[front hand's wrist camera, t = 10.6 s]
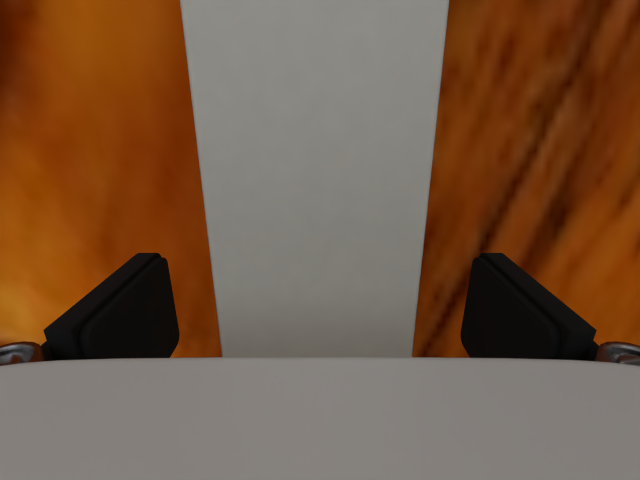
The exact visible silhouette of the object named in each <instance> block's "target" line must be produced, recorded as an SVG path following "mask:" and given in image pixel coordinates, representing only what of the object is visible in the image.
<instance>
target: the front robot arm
mask: <svg viewBox="0 0 640 480" xmlns="http://www.w3.org/2000/svg"><path fill="white" fill-rule="evenodd" d="M44 333H45V336H46V339H47V341H46V342H45V343H44V344H42V345H41V346H40V345H39V344H37V343H34V342H24V341H23V342H15V343H10V344H6V345H2V346H0V480H640V346H638V345H634V344H630V343H625V342H617V341H616V342H606V343H603V344H601V345H600V346H599V345H598V344H596V343H595V342H594V341H593V339H594V336H595V333H596V329H594V328H593V327H592V326H591V325H590V324H588V323H587V322H586V321H585V320H583V319H582V318H581V317H580V316H579V315H577V314H576V313H575V312H574V311H572V310H571V309H570V308H569V307H568V306H566V305H565V304H564V303H563V302H561V301H560V300H559V299H558V298H557V297H555V296H554V295H553V294H552V293H550V292H549V291H548V290H547V289H546V288H544V287H543V286H542V285H541V284H539V283H538V282H537V281H536V280H535V279H533V278H532V277H531V276H530V275H528V274H527V273H526V272H525V271H524V270H522V269H521V268H520V267H519V266H517V265H516V264H515V263H514V262H513V261H511V260H510V259H509V258H508V257H506V256H505V255H504V254H502V253H481V254H480V256H479V257H478V258H475V259H474V260H473V263H472V268H471V274H470V280H469V286H468V292H467V298H466V304H465V310H464V316H463V322H462V328H461V341H462V344H463V346H464V348H465V350H466V351H467V353H468V355H469V356H470V358H414V357H217V358H170V356H171V355H172V353H173V351H174V350H175V348H176V346H177V344H178V341H179V328H178V322H177V316H176V310H175V304H174V298H173V292H172V286H171V280H170V274H169V268H168V263H167V260H166V259H165V258H162V257H161V256H160V254H159V253H138V254H136V255H135V256H134V257H132V258H131V259H130V260H129V261H127V262H126V263H125V264H124V265H123V266H121V267H120V268H119V269H118V270H116V271H115V272H114V273H113V274H112V275H110V276H109V277H108V278H107V279H105V280H104V281H103V282H102V283H101V284H99V285H98V286H97V287H96V288H94V289H93V290H92V291H91V292H90V293H88V294H87V295H86V296H85V297H83V298H82V299H81V300H80V301H79V302H77V303H76V304H75V305H74V306H72V307H71V308H70V309H69V310H68V311H66V312H65V313H64V314H63V315H61V316H60V317H59V318H58V319H57V320H55V321H54V322H53V323H52V324H50V325H49V326H48V327H47V328H46V329H44Z"/></svg>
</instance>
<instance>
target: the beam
mask: <svg viewBox="0 0 640 480" xmlns="http://www.w3.org/2000/svg"><path fill="white" fill-rule="evenodd" d="M180 4H181V12H182V21H183V29H184V38H185V46H186V55H187V63H188V72H189V80H190V88H191V97H192V105H193V114H194V122H195V131H196V139H197V148H198V156H199V164H200V173H201V181H202V190H203V198H204V207H205V215H206V224H207V232H208V240H209V249H210V257H211V266H212V274H213V283H214V291H215V299H216V308H217V316H218V325H219V333H220V342H221V350H222V357H412V350H413V340H414V331H415V321H416V312H417V302H418V293H419V283H420V274H421V264H422V255H423V245H424V236H425V226H426V217H427V207H428V198H429V188H430V179H431V169H432V160H433V150H434V141H435V131H436V122H437V112H438V103H439V93H440V84H441V74H442V65H443V55H444V46H445V36H446V27H447V17H448V8H449V0H180Z"/></svg>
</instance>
